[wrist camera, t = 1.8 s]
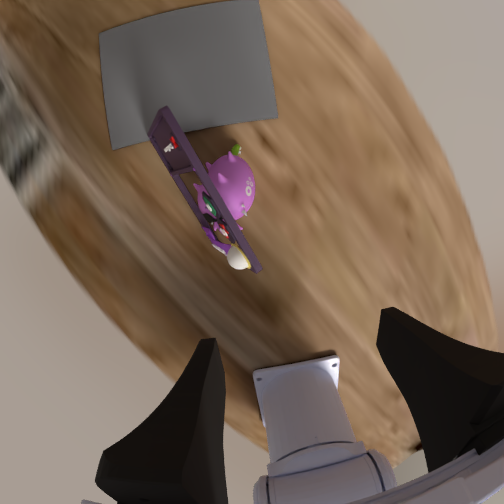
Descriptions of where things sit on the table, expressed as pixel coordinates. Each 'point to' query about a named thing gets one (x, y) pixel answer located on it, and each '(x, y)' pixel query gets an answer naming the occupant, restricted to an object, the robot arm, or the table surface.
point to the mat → (187, 70)
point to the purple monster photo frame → (210, 187)
